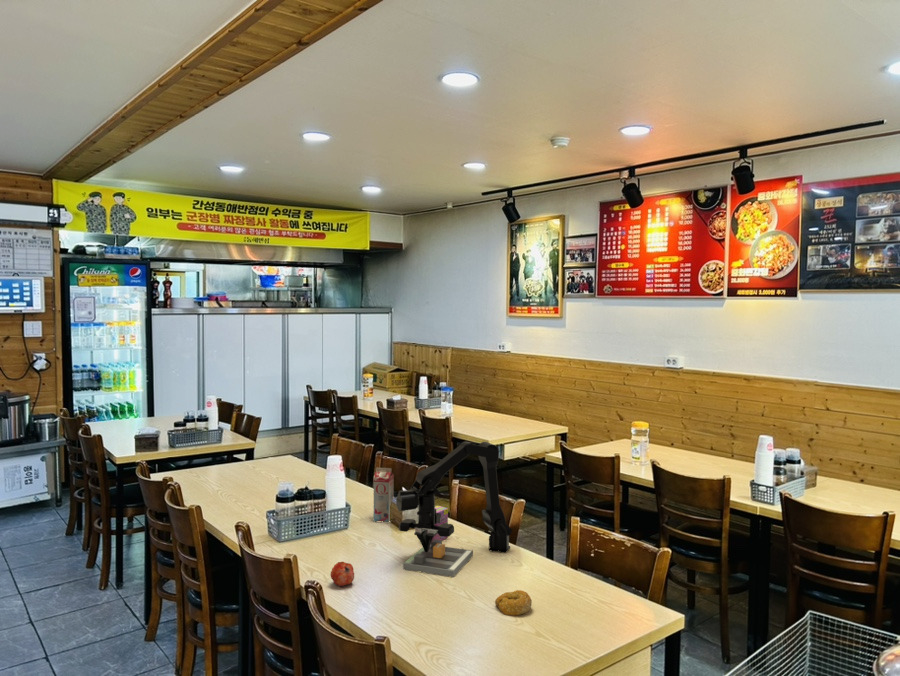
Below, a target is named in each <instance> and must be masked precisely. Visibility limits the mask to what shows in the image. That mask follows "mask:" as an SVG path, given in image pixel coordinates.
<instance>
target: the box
mask: <svg viewBox="0 0 900 676" xmlns="http://www.w3.org/2000/svg"><path fill="white" fill-rule="evenodd" d="M435 509H436V513H440V514H441V519H440V523H439V522H438V523H437V524H435V526H441V525H442V524H443V523H446V524H449V523H448V522H449V520H448V519H449V508H448V507H444V506H441V505H435ZM427 533H428V532H427ZM448 538H449V537H444V536H439V534H437V535H435V536H434V537H433V539H432V541H433V540H434V539H435V540H442V541H443V540H446V539H448Z"/></svg>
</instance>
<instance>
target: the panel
mask: <svg viewBox="0 0 900 676" xmlns="http://www.w3.org/2000/svg"><path fill="white" fill-rule="evenodd" d="M437 543H439V544H443V540H435V539H434V540H433V541H432V542H431V545H430V548H429V551H428V552H425V551H424V549H423V546H422V547H421V548H419V549H418V551H416V552H415V553H414V554H412V556H410V558H408V559H407V560H405V562H403V564H402V567H403V570H404V569H405V570H406V571H411V570H413V571H412V572H417V571H421V572H420V573H423V572H425V573H424V574H430V573H431V574H430V575H436V574H438V576H442V575H444V577H449V576H451V577H450V578H454V577H455V576H456V575H457V574H458V573H459V572H460V571H461V569H462V568H463V567H464V566H465V565H466V564H467V563H468V562H469V561H470V560H471V559H472V558H473V556H474V550H473V549H472V550H471V549H464V548H460V547H459V548H458V547H450V546H445V555H444V556H443V557H442V558H436V557H433V547H434V546H435V545H436V544H437ZM471 557H472V558H471ZM459 570H460V571H459Z"/></svg>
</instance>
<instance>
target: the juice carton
mask: <svg viewBox="0 0 900 676" xmlns="http://www.w3.org/2000/svg"><path fill="white" fill-rule="evenodd" d="M394 476H395V475H394V473H393V472H392V467H391V468H389V467H375V473H374V475H373V522H374V521H383V522H389V521H390V505H391V500H392V499H393V498H394V483H395V482H394V478H395V477H394ZM390 522H391V521H390ZM390 522H389V523H390Z"/></svg>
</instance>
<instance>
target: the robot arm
mask: <svg viewBox="0 0 900 676" xmlns="http://www.w3.org/2000/svg"><path fill="white" fill-rule="evenodd" d="M470 455H473V456H478V460H479V462H480V463H481V466H482V470H483V478H484V479H483V480H484V481H483V482H484V489H485V497H486V498H485V499H486V507H485V509H482V510H481V513H482V522H483V523H484V525H486V526H487V527H488V530H490V532H489V533H490V535H489V536H488V547H489V548H488V551H490V552H497V553H504V554H505V553H507V552H508V551H509V549H510V548H511V545H510V536H511V535H512V531H513V529H512V527H510V526H509V525H508V524H507V520H506V516H505V513H504V511H503V509H502V507H501V504H500V503H501V502H500V495H499V485H498V484H499V483H498V475H497V474H498V473H497V466H498V463H499V460H500V459H499V457H500V450H499V447H498V446H497V445H495V444H493V443H490V442H487V441H481V442H479V443H478V442H470V441H462V442H461V443H460V444H459V446H457V447H456V448H454V449H453V450H452V451H451V452H450V453H448V454H447V455H445V456H444V457H443V458H441V460H440V461H438V462H436V463H435V464H434V465H431V466H428V467H426V468H424V469H421V470H420V471H418V472H417V475H416V479H415V480H414V482H413V484H412V485H411V487H410V489H407V490H402V489H401V490H399V491H398V494H397V497H396V499H395V500H396V501H395V502H396V503H395V504H396V508H397V510H398V512H404V511H412V510H416V509H418V510H417V512H416V515H417V516H418V517H417V518H418V520H416V519H412V518H405V519H404V520H402V521H401V522H399V527H398V528H399V529H398V530H399V531H400V532H406V533H407V532H408V531H409V530H410V529H413V530H414V535H415V536H416V537H417V539H418V540H419V543H420V544H421V546H422V547H423V549H424V551H425V552H428V551H429V548H430V545H431V542H432V539H433V537H434V536H435V535H437V534H439V536H444V537H448V538H449V537H450V536H451V535H452V534H454V533H455V527H454V525H453V523H448V524H446V523H443V524H442V525H441V526H435V524H437V523H438V522H439V523H440V519H441V514H440V513H436V509H435V506H436V504H435V503H436V501H435V500H436V498H435V496H437V495H441V491H439V490H438V489H437V486H438V485H439V484H440V482H441V481H442V479H443V477H444V476H445V475H446V474H447V473H448V472H450V471H451V470H452V469H453V468H455V467H456V466H457V465H458V464H459V463H460V462H462V461H463V460H464V459H465V458H467V457H468V456H470ZM417 521H418V522H417ZM427 532H428V533H427Z"/></svg>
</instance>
